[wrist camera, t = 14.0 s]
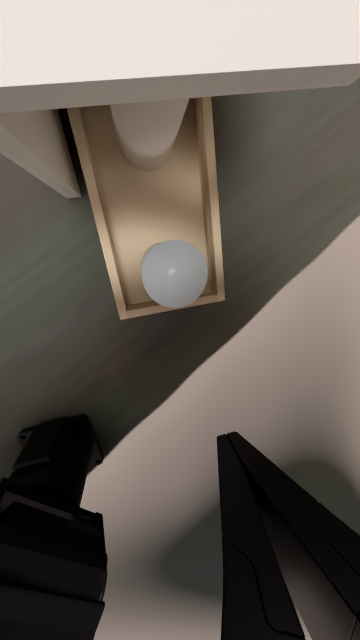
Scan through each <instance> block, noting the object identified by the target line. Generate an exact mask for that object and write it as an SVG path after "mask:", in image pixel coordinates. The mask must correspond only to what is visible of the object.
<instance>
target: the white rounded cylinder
mask: <svg viewBox="0 0 360 640" xmlns="http://www.w3.org/2000/svg"><path fill="white" fill-rule="evenodd" d="M188 101H189V98H186V99H174V100H161V101H148V102H136V103H123V104H111V105H110V108H111V113H112V118H113V123H114V128H115V132H116V137H117V142H118V146H119V149H120V151H121V154H122V155H123V157H124V158H125V160H126V161H127V162H128V163H129V164H130V165H131V166H132V167H134V168H136V169H138V170H140V171H145V172H151V171H155V170H158V169H159V168H161V167H162V166H163V165H164V164H165V163H166V162H167V160H168V158H169V156H170V154H171V151H172V148H173V145H174V142H175V139H176V136H177V133H178V130H179V128H180V125H181V122H182V119H183V116H184V113H185V110H186V107H187V104H188Z"/></svg>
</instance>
